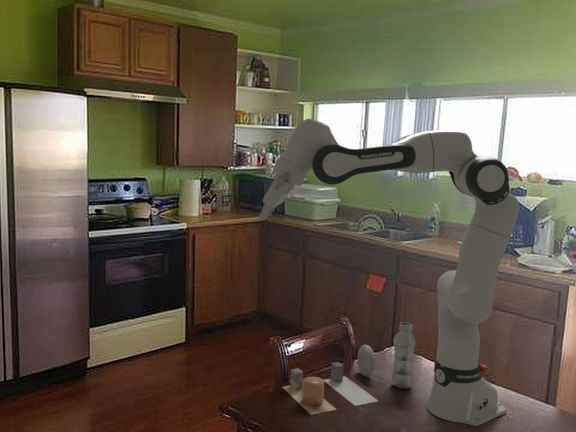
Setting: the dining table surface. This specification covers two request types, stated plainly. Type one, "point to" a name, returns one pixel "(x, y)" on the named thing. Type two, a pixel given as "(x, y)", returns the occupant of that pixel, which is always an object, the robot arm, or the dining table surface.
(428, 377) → the dining table surface
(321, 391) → the terracotta cylinder
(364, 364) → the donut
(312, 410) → the oak strip
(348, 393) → the grey strip
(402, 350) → the plastic bottle
